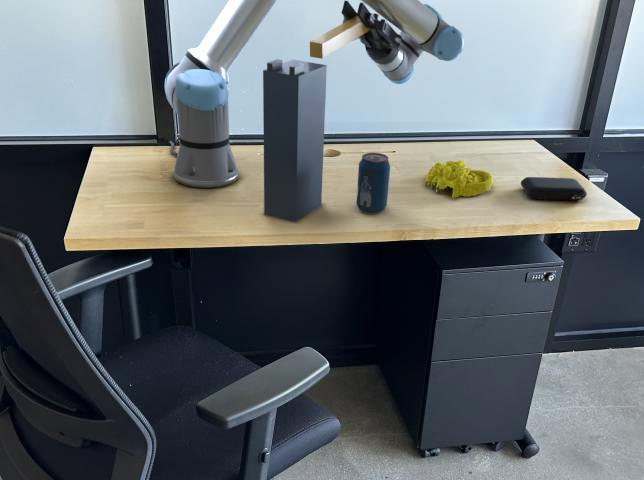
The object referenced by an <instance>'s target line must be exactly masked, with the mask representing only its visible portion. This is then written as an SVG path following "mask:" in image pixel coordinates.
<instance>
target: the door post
mask: <svg viewBox="0 0 644 480" xmlns="http://www.w3.org/2000/svg"><path fill="white" fill-rule="evenodd" d="M327 69H328V67H327V64H322V63H316V62H310V61H303V60H298V59H290V60H287V61H285V62H283V59H279V58H277V59H274V60H272V61H268V62H266V68H265V69H263V70H262V100H263V101H262V103H263V104H262V105H263V106H262V107H263V109H262V110H263V111H262V112H263V113H262V114H263V117H262V118H263V119H262V120H263V122H262V123H263V215H264V216H268V217H271V218H276V219H281V220H285V221H289V222H293V223H298V222H299V221H300V220H302V219H303V218H304V217H306V216H307V215H309V214H310V213H311V212H314V211H315V210H316V209H318V208H319V207H320V206H322V200H323V199H322V197H323V196H322V195H323V175H324V173H323V170H324V149H325V148H324V145H325V124H326V123H325V119H326V96H327V95H326V94H327Z"/></svg>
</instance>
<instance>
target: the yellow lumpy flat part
mask: <svg viewBox="0 0 644 480" xmlns="http://www.w3.org/2000/svg"><path fill="white" fill-rule="evenodd" d="M424 183H425V184H424V185H425V186H426V185H427V187H429V186H431V185H433V186H436V188H435V193H437V192H438V189H439V191H440V190H444V189H448V188H447V187H449V188H451V189H452V195H451V198H452V199H454V198H455V199H456V198H458V197H462V196H463V197H471V196H477V195H482V194H484V193H486V192H489V191H490V190H491V189H492V186H493V175H492V174H491V173H490V172H488V171H485V170H477V169H472V168H471V167H466V165H465V160H462V159H460V160H457V161H453V160H448V161H446V162H445V164H444V163H441V162H439V161H437V162H436V163H435V164H434V166H432V167H431V168H430V169H429V171H428V172H427V175H426V178H425V182H424ZM430 189H431V190H432V187H430Z"/></svg>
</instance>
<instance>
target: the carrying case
mask: <svg viewBox="0 0 644 480" xmlns="http://www.w3.org/2000/svg"><path fill="white" fill-rule="evenodd" d="M520 186H521V187H522V188H523V190H524V192H525V194H526V195H527V197H529V198H530V199H533V200H549V201H550V200H551V201H582V200H583V199H585V198H586V197H587V195H588V192H587V191H586V189H585V188H584V186H582V184H581V182H579V181H578V180H577V179H575V178H573V177H572V178H569V177H544V176H543V177H541V176H526V177H524V178H523V179H522V180H521V181H520Z"/></svg>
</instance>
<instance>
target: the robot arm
mask: <svg viewBox="0 0 644 480" xmlns="http://www.w3.org/2000/svg"><path fill="white" fill-rule="evenodd" d="M276 2H277V0H229V1H228V2H227V3H226V5H225V6H224V8H223V9H222V11H221V12H220V14H219V16H218V17H217V18H216V20H215V22H214V23H213V25H212V26H211V28H210V29H209V31H208V32H207V34H206V35H205V37H204V38H203V40H202V41H201V43H200V44H199V46H198V47H195V48H189V49H188V50H187V52H186V53H185V55H184V56H183V57H182V59H181V61H179V62H177V63H175V64H173V65H172V66H171V67H170V68H169V70H168V71H167V73H166V75H165V79H164V93H165V96H166V100H167V102H168V104H169V105H170V107H171V108H172V109H173V110H174V112H175V113H176V115H177V125H178V126H177V128H178V140H179V147H178V150H177V152H176V151H174V148H175V143H174V142H173V141H172V140H171V141H169V140H167V139H165V138H161V137H160V139H159V140H160V141H164V140H166V141H167V142H168V143H169V144H170V145H171V146H170V147H169V152H170V154H172V155H174V156H176V159H175V162H174V166H173V167H174V168H173V177H174V179H175V181H176V182H178V184H181V185H183V186H187V187H191V188H197V189H198V188H199V189H200V188H201V189H212V188H214V189H215V188H220V187H221V188H222V187H225V186H229V185H231V184H233V183H235V182H236V181H237V180H238V179H239V169H238V165H237V162H236V159H235V157H234V154H233V151H232V148H231V145H230V123H229V122H230V119H229V118H230V117H229V97H230V96H229V94H230V93H229V88H228V84H229V83H230V79H229V71H230V69H231V68H232V66H233V65H234V64H235V62H236V61H237V59H238V58H239V56H240V55H241V53H242V52H243V50H244V49H245V47H246V46H247V44H248V43H249V42H250V40H251V39H252V37H253V36H254V34H255V33H256V31H257V30H258V28H259V27H260V26H261V24H262V23H263V21H264V19H265V18H266V17H267V15H268V14H269V12H271V11H270V10H271V9H273V6H274V5H275V4H276ZM367 6H368V7H369V9H371V10H373V12H375V13H372V12H371V11H370V10H369V9H368V8H367ZM371 13H372V14H371ZM341 15H342V17H343V19H342V23H341V24H343V23H345V22H346V21H348V20H350V19H352V18H354V17H356V16H358V18H359V19H360V20H361V21H362V23H363V24H364V25H365V27H366V28H369V27H370V29H371V30H370V31H368V32H366V33H365V34H363V35H361V36H360V37H358V38H356V39H355V40H353V41H357V40H360V43H361V44H362V45H364V48H365V51H366V54H367V55H368V57H369V58H370V59H371V61H372V62H373V63H374V65H376V66H377V68H378V69H379V70H380V71H381V72H382V73H383V75H384V77H386V78H387V79H388V80H389V81H390V82H391V83H392V84H396V85H403V84H405V83H407V82H408V81H410V80H411V78H412V77H413V75H414V71H415V66H414V64H415V63H416V62H417V61H418V59H419V57H420V56H421V55H423V52H426V53H427V54H430V55H432V56H433V57H435V58H437V59H438V60H440V61H444V62H451V61H454V60H455V59H457V58H458V57H459V56H460V54H461V53H462V52H463V50H464V46H465V39H464V36H463V34H462V31H461V30H459V29H458V28H456V27H455V26H454V25H450V24H449V23H447V22H446V21H445V20H444V18H443V16H442V15H441V14H440V13H439V12H438V10H436V9H435V8H434V7H432V6H430V5H429V4H427V3H423V2H421V1H420V0H360V2H359V4H358V9H357V11H356V10H355V8H354V7H353V6H352V5H351V3H350V2H349V1H348V0H344V1H343V4H342V10H341ZM379 16H381V17H382V18H381V19H380V20H379ZM389 23H390V24H391V25H393V26H394V27H395V28H396V29H398V30H399V31H400V33H399V34H398V33H397V32H396V30H395V29H394V28H393V27H392V26H391V25H390V24H389ZM353 41H352V42H353Z"/></svg>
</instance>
